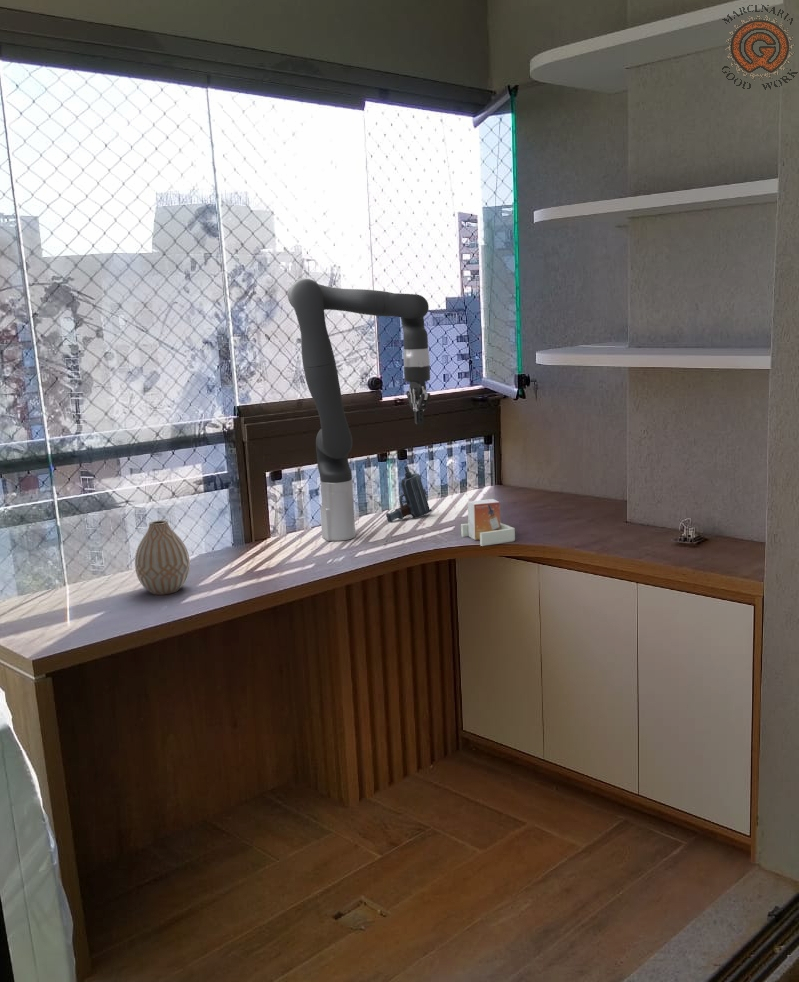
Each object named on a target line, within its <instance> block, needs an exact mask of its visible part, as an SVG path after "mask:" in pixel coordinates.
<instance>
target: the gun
mask: <svg viewBox="0 0 799 982" xmlns="http://www.w3.org/2000/svg"><path fill="white" fill-rule="evenodd" d="M404 471H405V474H404V475H405V477H403V478H402V479H400V480H401V481H400V487H401V489H402V492H403V494H401V495H400V496H399V501H398V502H399V504H400V507H398V508H395V509H394V511H391V512H390V513H388V512H386V514H385V517H386V520H387V522H388V523H393V521H394V520H397V519H398V520H404V518H405V517H407V516H411V517H412V518H415V519H418V518H420V517H423V516H425V515H427V514H429V513H431V512H433V510H432V508H431V509H430V507H429V506H430V505H429V503H428V500H427V496H426V495H427V490H426V489H425V488H424V485H423V482H422V477H421V475H420V473H416V472H414V473H412V472H411V471H410V468H409V466H408V465H406V466H404ZM403 497H404V499H405V501H404V500H403ZM403 503H405V505H404V504H403Z"/></svg>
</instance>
